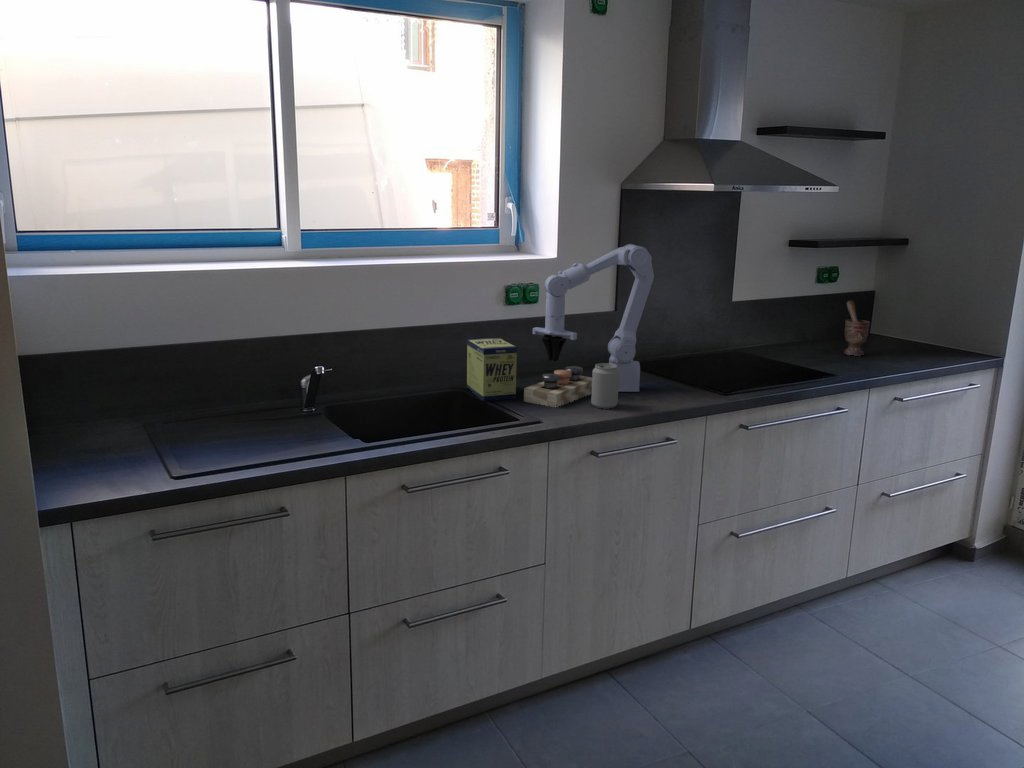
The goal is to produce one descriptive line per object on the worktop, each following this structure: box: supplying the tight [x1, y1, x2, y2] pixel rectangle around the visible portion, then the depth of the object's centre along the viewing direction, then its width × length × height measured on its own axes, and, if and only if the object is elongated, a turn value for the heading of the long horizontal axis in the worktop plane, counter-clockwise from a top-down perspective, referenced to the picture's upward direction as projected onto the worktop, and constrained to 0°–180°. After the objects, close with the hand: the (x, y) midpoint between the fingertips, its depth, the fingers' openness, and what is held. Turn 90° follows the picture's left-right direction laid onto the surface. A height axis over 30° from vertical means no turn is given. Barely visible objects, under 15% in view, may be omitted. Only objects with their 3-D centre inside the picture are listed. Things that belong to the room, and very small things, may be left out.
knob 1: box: [541, 373, 560, 390], centre depth 239 cm, size 5×5×4 cm
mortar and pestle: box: [843, 300, 871, 357], centre depth 313 cm, size 12×9×20 cm
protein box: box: [466, 337, 518, 402], centre depth 245 cm, size 10×16×16 cm
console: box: [523, 375, 592, 409], centre depth 244 cm, size 24×11×4 cm, turn 145°
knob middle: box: [553, 369, 572, 386], centre depth 244 cm, size 5×5×4 cm
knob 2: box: [564, 365, 584, 382], centre depth 249 cm, size 5×5×4 cm
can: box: [590, 362, 619, 410], centre depth 234 cm, size 8×8×12 cm
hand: (553, 360), depth 249 cm, fingers closed
